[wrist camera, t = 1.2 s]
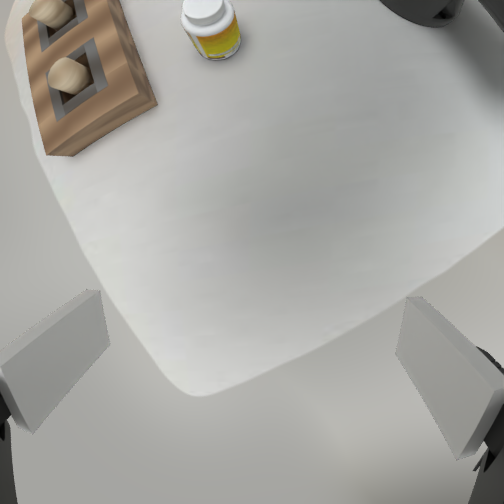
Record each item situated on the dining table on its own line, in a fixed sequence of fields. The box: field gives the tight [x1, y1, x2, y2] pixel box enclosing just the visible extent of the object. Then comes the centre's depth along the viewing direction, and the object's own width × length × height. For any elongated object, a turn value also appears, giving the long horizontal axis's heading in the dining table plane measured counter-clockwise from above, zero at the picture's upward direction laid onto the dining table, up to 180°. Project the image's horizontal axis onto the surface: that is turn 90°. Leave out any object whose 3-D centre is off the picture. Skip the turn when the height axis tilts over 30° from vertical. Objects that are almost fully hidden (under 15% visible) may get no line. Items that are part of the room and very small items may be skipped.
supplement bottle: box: [181, 0, 241, 60], centre depth 26 cm, size 6×6×10 cm
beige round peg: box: [29, 0, 75, 31], centre depth 23 cm, size 4×4×6 cm
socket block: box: [22, 0, 158, 156], centre depth 29 cm, size 26×14×6 cm, turn 22°
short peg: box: [48, 57, 94, 95], centre depth 27 cm, size 4×4×6 cm
